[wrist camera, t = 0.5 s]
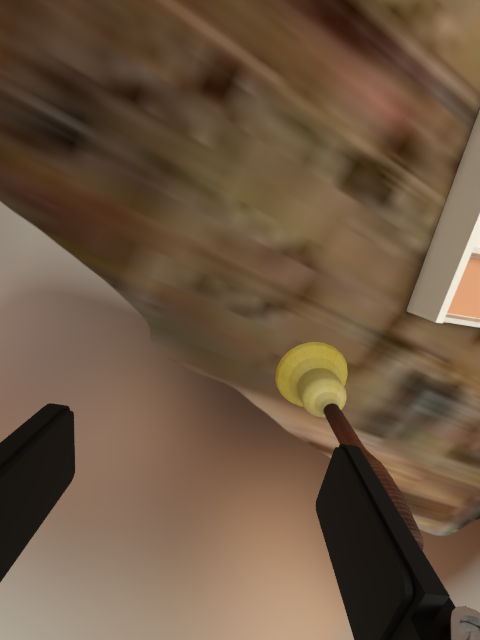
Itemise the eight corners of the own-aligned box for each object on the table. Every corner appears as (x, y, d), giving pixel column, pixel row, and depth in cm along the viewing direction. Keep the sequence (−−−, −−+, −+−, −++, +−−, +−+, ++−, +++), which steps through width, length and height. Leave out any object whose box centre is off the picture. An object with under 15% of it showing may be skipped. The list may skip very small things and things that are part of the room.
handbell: (345, 404, 43) (478, 598, 19) (276, 408, 44) (322, 606, 20) (350, 339, 40) (519, 478, 16) (274, 344, 40) (329, 489, 16)
